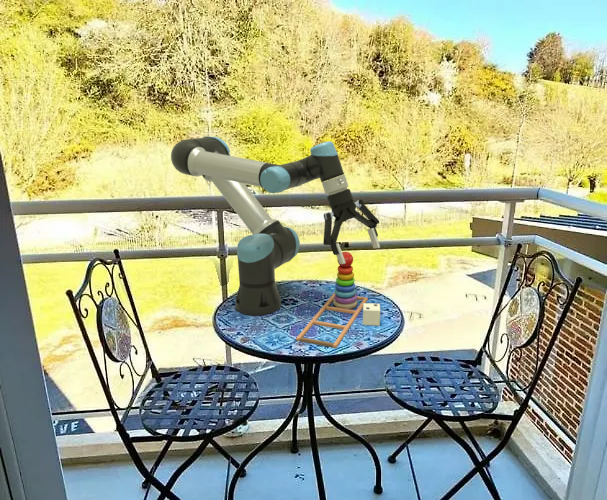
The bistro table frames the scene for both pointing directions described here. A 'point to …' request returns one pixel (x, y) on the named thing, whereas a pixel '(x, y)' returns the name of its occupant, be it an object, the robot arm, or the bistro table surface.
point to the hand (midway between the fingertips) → (360, 255)
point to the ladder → (345, 328)
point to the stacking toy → (345, 284)
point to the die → (371, 314)
